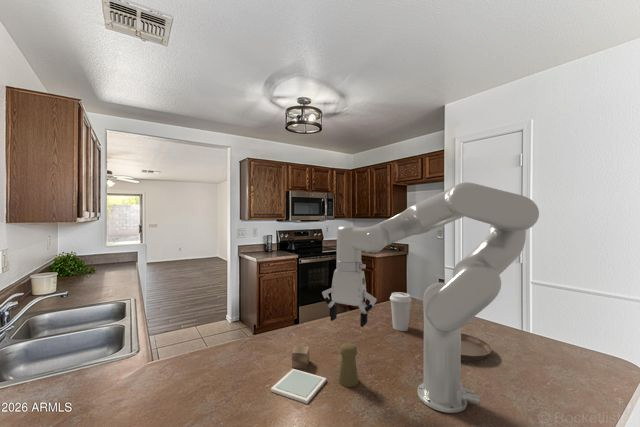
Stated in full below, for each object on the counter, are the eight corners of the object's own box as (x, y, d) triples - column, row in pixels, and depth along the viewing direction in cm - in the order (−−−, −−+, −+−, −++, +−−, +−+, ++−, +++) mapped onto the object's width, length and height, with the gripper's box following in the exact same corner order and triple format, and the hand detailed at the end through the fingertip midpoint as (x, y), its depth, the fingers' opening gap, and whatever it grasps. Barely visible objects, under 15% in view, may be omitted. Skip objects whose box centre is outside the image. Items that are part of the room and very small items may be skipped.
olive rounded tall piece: (357, 388, 85) (357, 350, 85) (337, 385, 86) (337, 348, 86) (359, 376, 91) (359, 341, 91) (339, 374, 92) (340, 339, 92)
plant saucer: (450, 334, 123) (450, 327, 123) (502, 355, 106) (502, 346, 106) (418, 346, 112) (418, 338, 112) (470, 371, 95) (470, 361, 95)
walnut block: (309, 361, 100) (309, 346, 100) (306, 368, 95) (306, 353, 95) (294, 360, 101) (295, 345, 101) (291, 367, 96) (292, 352, 96)
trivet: (326, 380, 88) (326, 377, 88) (307, 403, 78) (307, 400, 78) (292, 371, 94) (292, 368, 94) (270, 391, 83) (270, 388, 83)
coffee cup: (414, 332, 125) (414, 297, 125) (392, 332, 125) (392, 297, 125) (408, 324, 134) (408, 291, 134) (387, 324, 134) (387, 291, 134)
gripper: (379, 267, 88) (379, 323, 88) (328, 262, 96) (327, 313, 96) (372, 271, 81) (372, 332, 81) (317, 265, 89) (317, 321, 89)
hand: (348, 322), depth 88 cm, fingers open, 9 cm apart
